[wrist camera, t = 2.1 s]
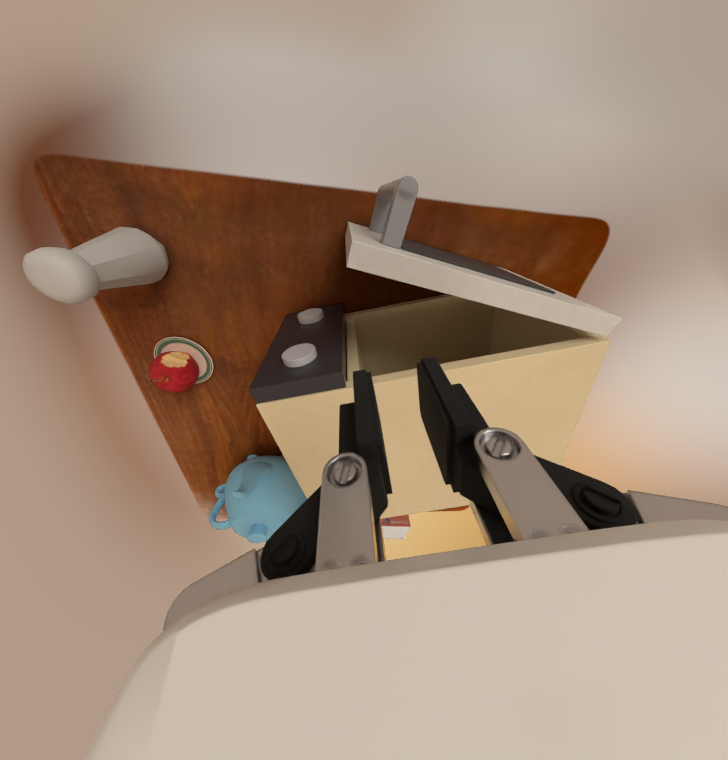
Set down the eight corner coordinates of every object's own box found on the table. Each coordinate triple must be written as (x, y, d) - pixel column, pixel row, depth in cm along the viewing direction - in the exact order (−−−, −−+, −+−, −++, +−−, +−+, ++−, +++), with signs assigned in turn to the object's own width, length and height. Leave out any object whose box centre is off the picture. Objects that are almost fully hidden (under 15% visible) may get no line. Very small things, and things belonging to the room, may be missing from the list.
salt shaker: (169, 228, 30) (72, 244, 19) (182, 280, 33) (106, 318, 22) (112, 222, 29) (-20, 234, 19) (132, 275, 32) (29, 312, 22)
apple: (144, 340, 37) (110, 364, 32) (197, 330, 37) (173, 353, 32) (175, 385, 42) (151, 412, 37) (223, 376, 42) (206, 402, 36)
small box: (402, 480, 60) (412, 526, 52) (396, 494, 63) (404, 540, 55) (368, 478, 59) (372, 526, 50) (364, 492, 62) (367, 540, 54)
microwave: (284, 308, 36) (243, 383, 21) (503, 264, 35) (622, 312, 20) (329, 430, 50) (322, 528, 35) (486, 403, 48) (549, 492, 34)
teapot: (283, 501, 62) (269, 570, 51) (208, 464, 53) (170, 537, 41) (333, 471, 57) (330, 540, 45) (259, 424, 48) (232, 495, 36)
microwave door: (356, 177, 28) (370, 153, 14) (524, 234, 33) (670, 261, 18) (345, 236, 31) (346, 267, 17) (499, 281, 36) (606, 336, 21)
